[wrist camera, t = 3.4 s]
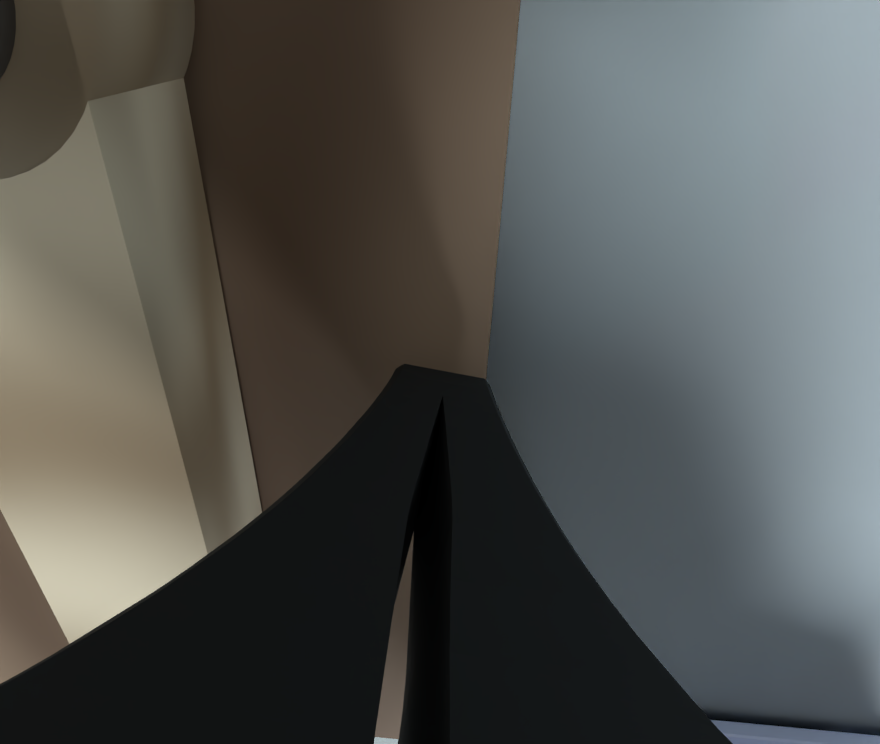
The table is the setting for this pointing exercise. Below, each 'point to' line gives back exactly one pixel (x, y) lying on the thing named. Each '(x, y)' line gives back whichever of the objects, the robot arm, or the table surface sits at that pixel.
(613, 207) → the table surface
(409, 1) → the walnut board
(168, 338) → the pivot link
